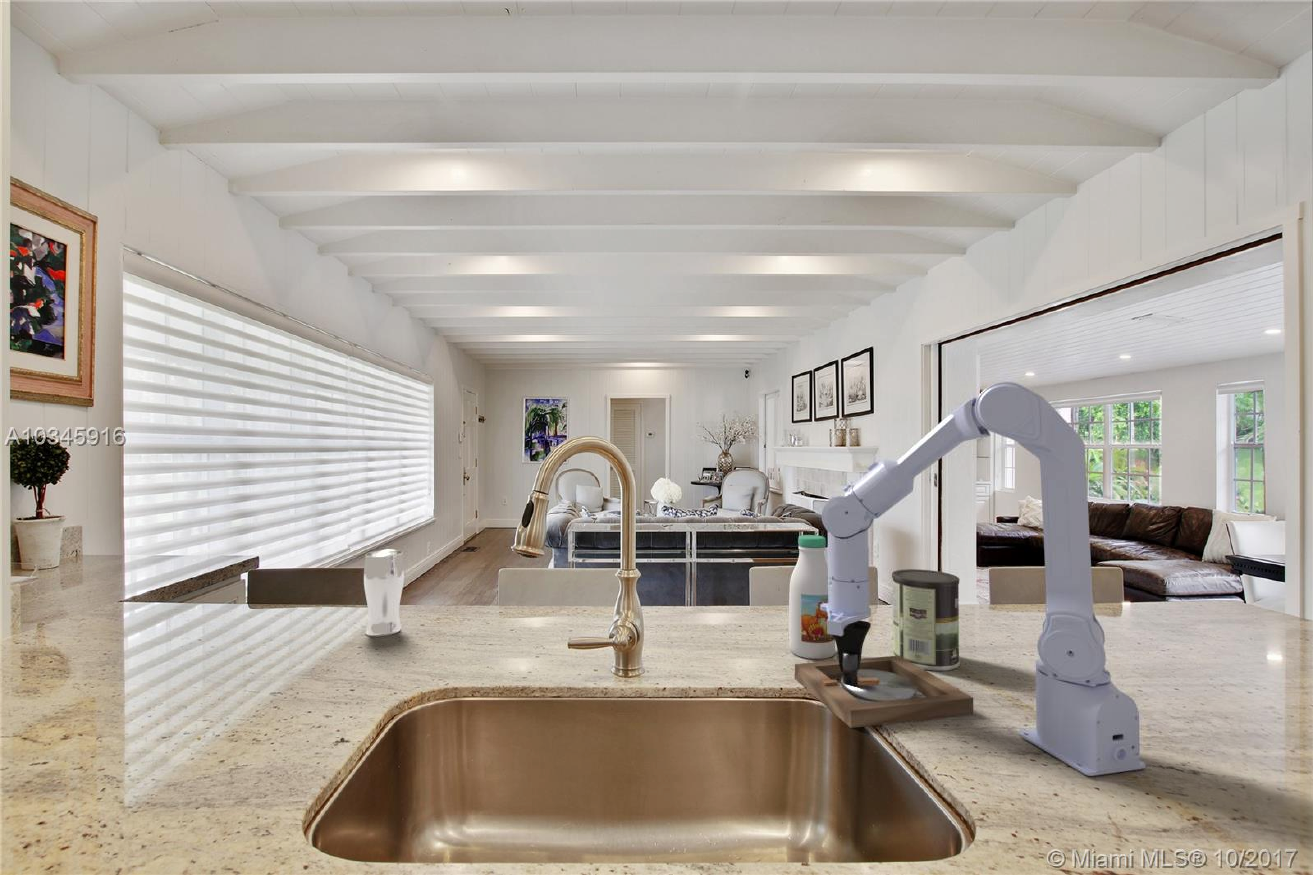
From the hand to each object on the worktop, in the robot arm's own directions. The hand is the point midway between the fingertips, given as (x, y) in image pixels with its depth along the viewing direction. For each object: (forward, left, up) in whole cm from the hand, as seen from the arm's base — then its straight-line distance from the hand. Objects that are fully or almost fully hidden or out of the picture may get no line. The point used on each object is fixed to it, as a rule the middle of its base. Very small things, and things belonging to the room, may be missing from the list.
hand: (849, 671), depth 85 cm
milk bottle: (+16, -2, -3) cm, 16 cm away
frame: (-2, -3, -3) cm, 5 cm away
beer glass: (+43, +73, -3) cm, 85 cm away
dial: (-2, -3, -3) cm, 5 cm away
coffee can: (+9, -19, -3) cm, 21 cm away
